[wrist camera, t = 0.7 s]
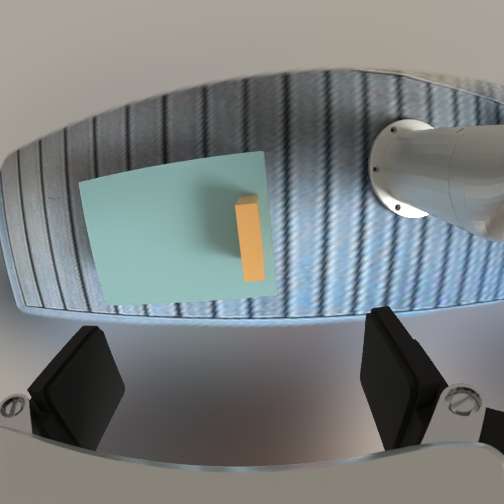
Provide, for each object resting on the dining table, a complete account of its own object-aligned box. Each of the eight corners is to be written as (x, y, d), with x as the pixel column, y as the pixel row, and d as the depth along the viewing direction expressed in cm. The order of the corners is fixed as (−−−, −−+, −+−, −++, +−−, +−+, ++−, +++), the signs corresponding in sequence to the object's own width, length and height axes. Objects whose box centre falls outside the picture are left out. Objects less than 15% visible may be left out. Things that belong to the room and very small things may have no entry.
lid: (263, 151, 28) (263, 149, 21) (276, 283, 32) (279, 321, 25) (91, 179, 29) (49, 189, 22) (116, 295, 33) (85, 328, 26)
